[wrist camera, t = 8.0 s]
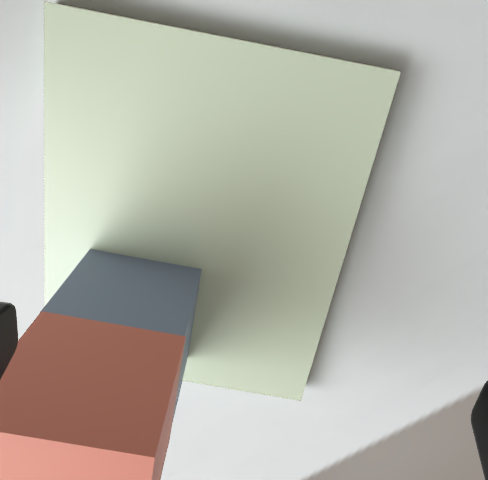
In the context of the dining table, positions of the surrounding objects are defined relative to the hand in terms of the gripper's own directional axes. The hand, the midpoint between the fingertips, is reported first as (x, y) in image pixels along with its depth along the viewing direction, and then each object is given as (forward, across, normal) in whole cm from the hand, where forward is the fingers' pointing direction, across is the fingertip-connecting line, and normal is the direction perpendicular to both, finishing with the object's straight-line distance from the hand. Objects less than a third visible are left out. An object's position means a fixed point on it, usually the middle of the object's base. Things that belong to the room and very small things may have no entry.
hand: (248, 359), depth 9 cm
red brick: (+6, +4, +7) cm, 10 cm away
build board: (+12, +2, +3) cm, 13 cm away
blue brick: (+11, +5, +7) cm, 14 cm away
